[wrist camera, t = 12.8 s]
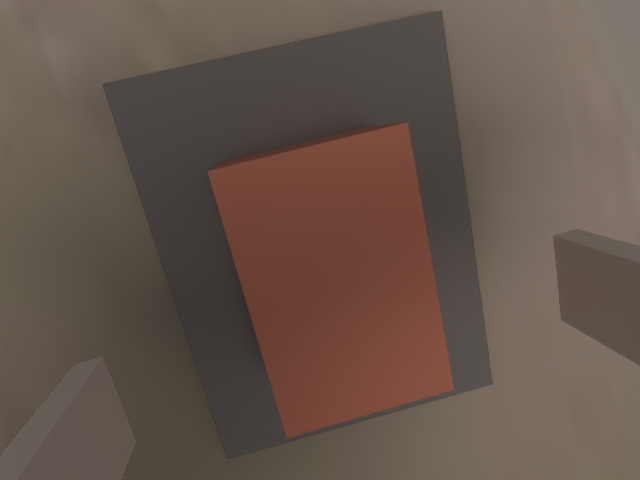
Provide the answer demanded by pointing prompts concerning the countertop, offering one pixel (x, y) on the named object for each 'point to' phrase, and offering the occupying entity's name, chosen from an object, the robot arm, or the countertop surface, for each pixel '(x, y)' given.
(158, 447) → the countertop surface
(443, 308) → the rubber mat
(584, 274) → the robot arm
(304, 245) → the card deck box
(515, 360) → the countertop surface
